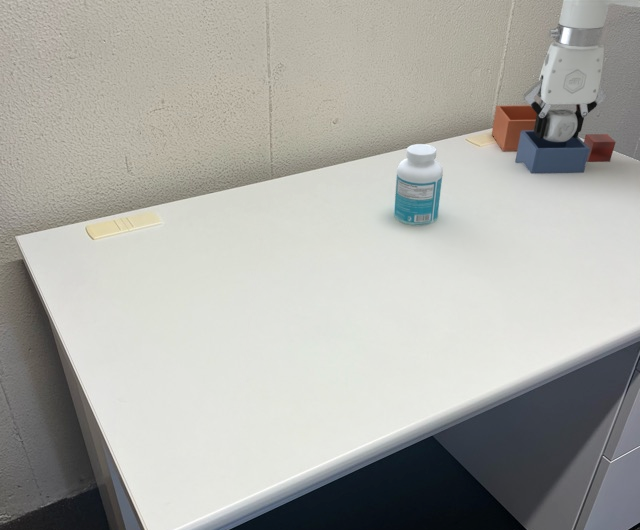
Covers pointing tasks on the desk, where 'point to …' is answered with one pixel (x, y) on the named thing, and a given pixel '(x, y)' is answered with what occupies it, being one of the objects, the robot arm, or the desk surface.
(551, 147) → the blue bin
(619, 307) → the desk surface
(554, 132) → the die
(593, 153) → the red block
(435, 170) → the pill bottle
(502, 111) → the terracotta bin
